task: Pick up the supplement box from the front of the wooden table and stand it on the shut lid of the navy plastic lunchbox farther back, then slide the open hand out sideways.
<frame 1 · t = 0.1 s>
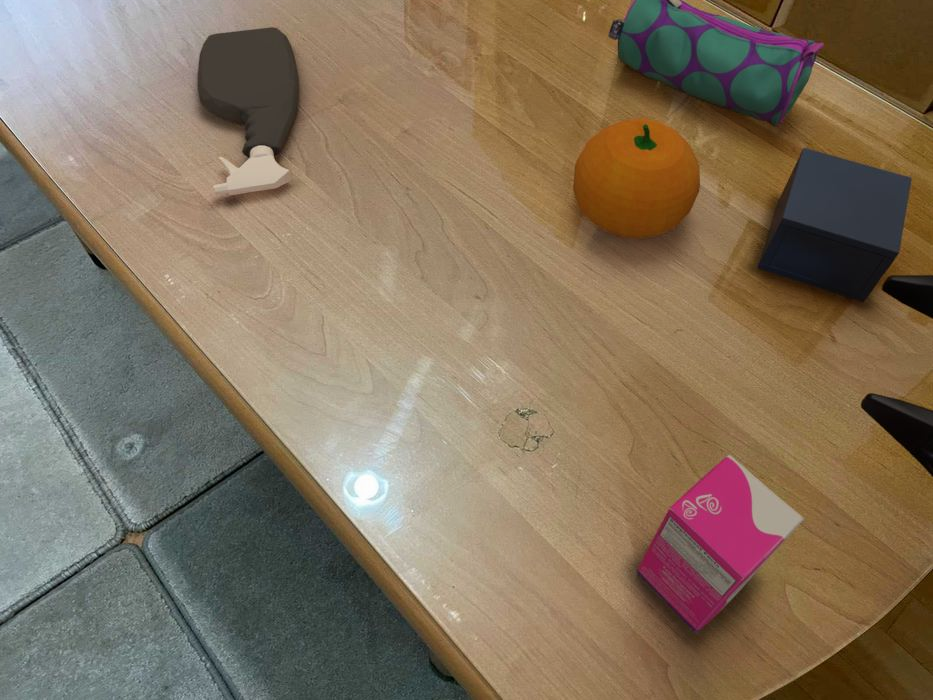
hand: (875, 337, 44), 17 cm above the table, tool horizontal, fingers open, 9 cm apart
pencil case: (699, 90, 85), on the table
fruit: (627, 210, 74), on the table
spray bottle: (253, 120, 81), on the table
lunchbox lid: (847, 200, 66), point 6 cm above the table, hinge at 0.0°
lunchbox: (818, 249, 71), on the table
supplement box: (689, 576, 53), on the table
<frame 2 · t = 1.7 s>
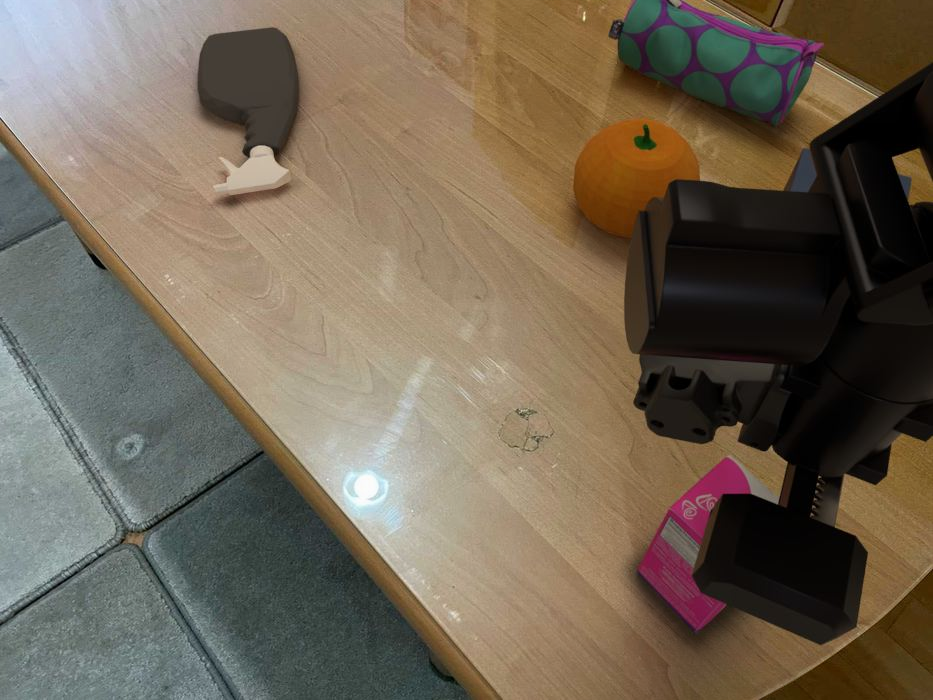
hand: (749, 499, 42), 13 cm above the table, tool pointing down, fingers open, 9 cm apart
nothing on the table moved.
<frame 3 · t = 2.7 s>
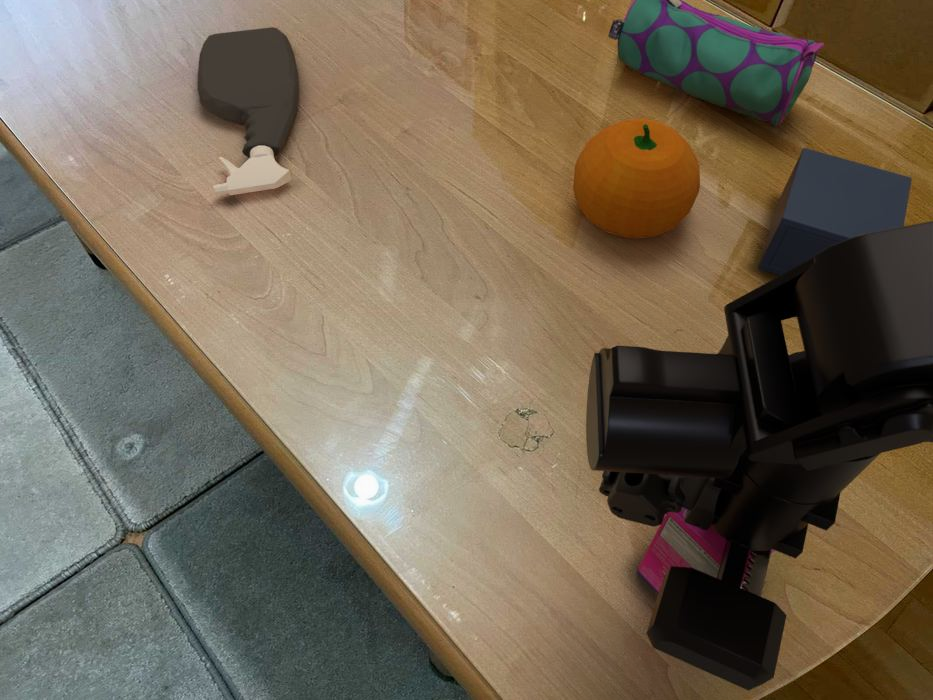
hand: (706, 556, 50), 4 cm above the table, tool pointing down
supplement box: (689, 576, 53), on the table, touching gripper
everything else where it was.
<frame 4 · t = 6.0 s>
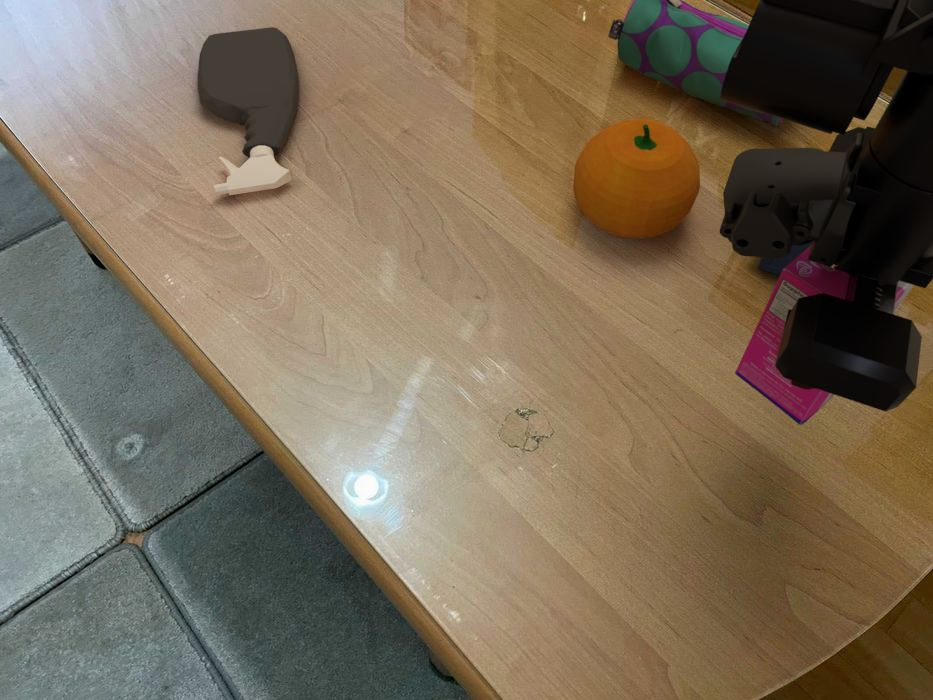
hand: (808, 340, 49), 13 cm above the table, tool pointing down, fingers closed on supplement box, 7 cm apart
supplement box: (788, 378, 53), point 8 cm above the table, touching gripper
everything else where it was.
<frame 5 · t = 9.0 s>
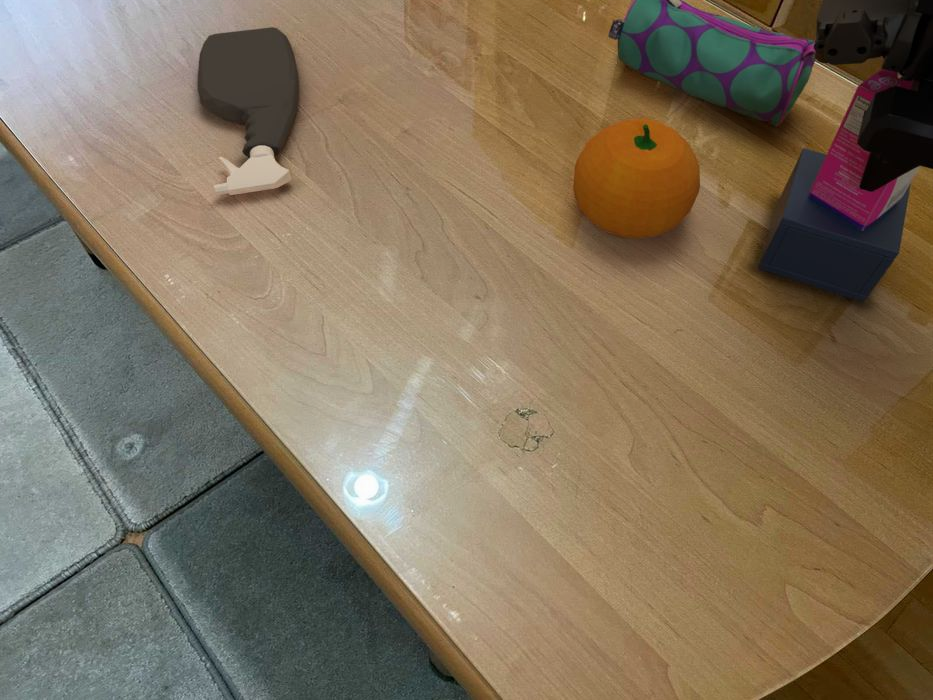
hand: (871, 160, 62), 11 cm above the table, tool pointing down, fingers closed on supplement box, 7 cm apart
lunchbox lid: (846, 200, 66), point 6 cm above the table, hinge at -0.3°, touching lunchbox, supplement box
supplement box: (851, 200, 65), point 7 cm above the table, touching gripper, lunchbox lid
everything else where it was.
when the fingers open (11 cm above the table, at t = 9.2 s): supplement box stays where it is, resting on lunchbox lid.
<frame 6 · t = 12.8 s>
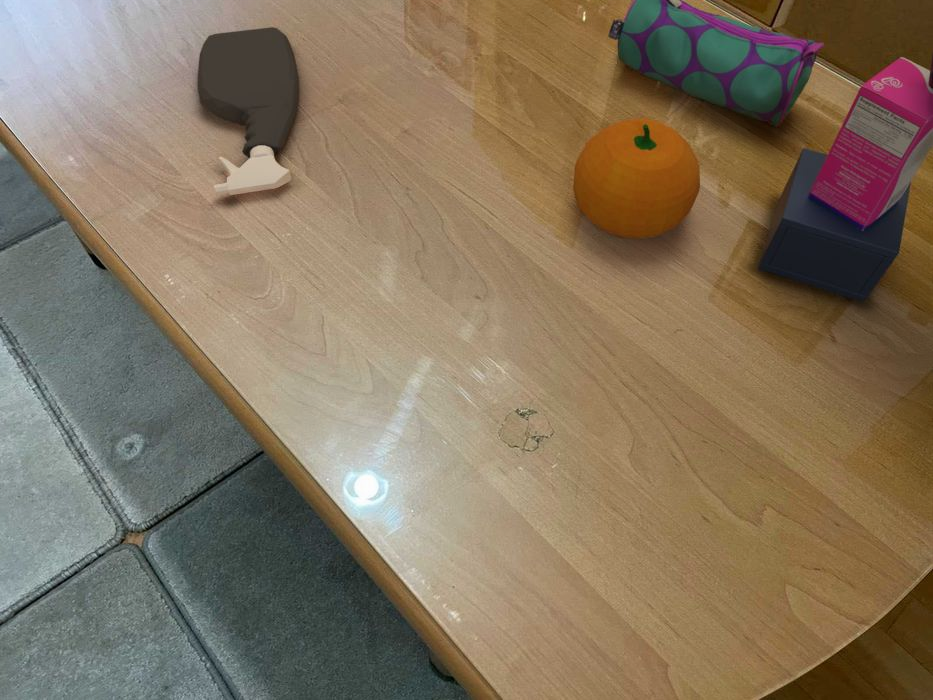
supplement box: (850, 200, 65), point 6 cm above the table, touching lunchbox lid
everything else where it was.
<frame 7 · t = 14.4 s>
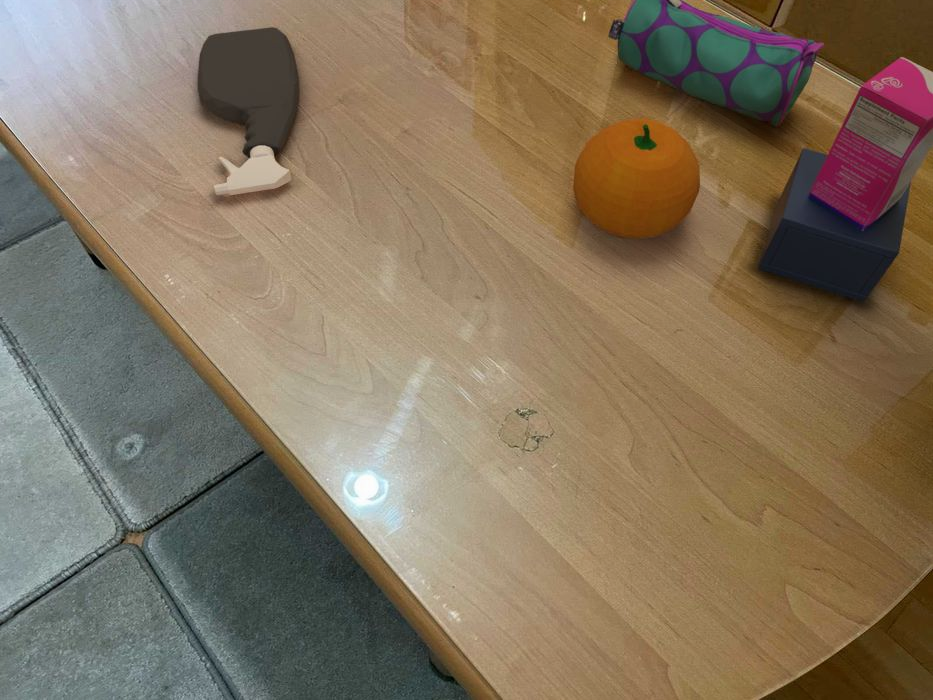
nothing on the table moved.
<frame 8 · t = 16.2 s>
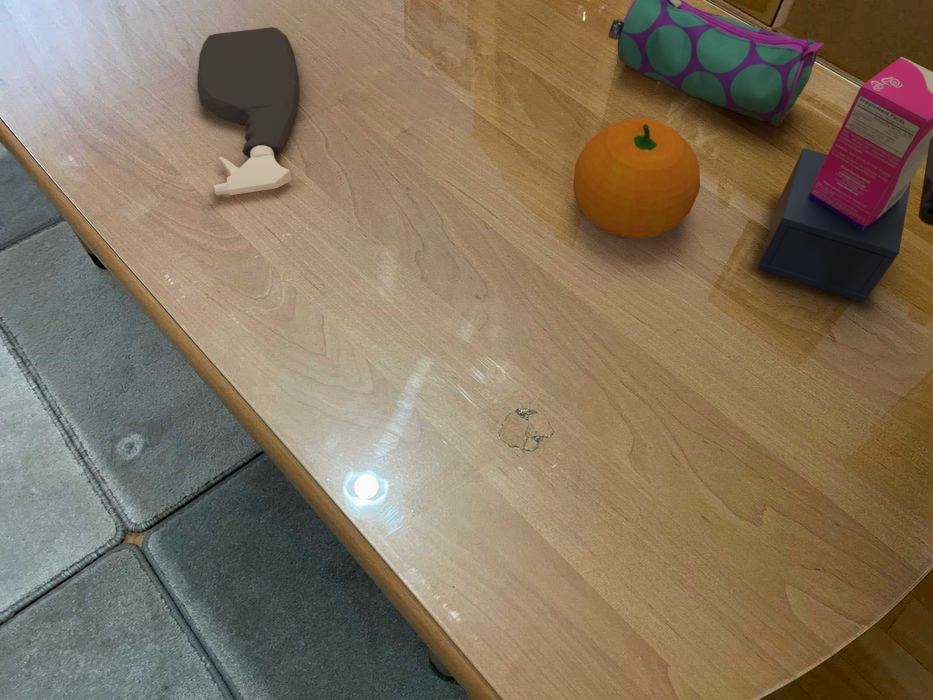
nothing on the table moved.
at the end: supplement box inside the target area on the lunchbox (0.2 cm from its centre), point 6.4 cm above the lunchbox's base; supplement box tilted 0°; the gripper is holding nothing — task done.
